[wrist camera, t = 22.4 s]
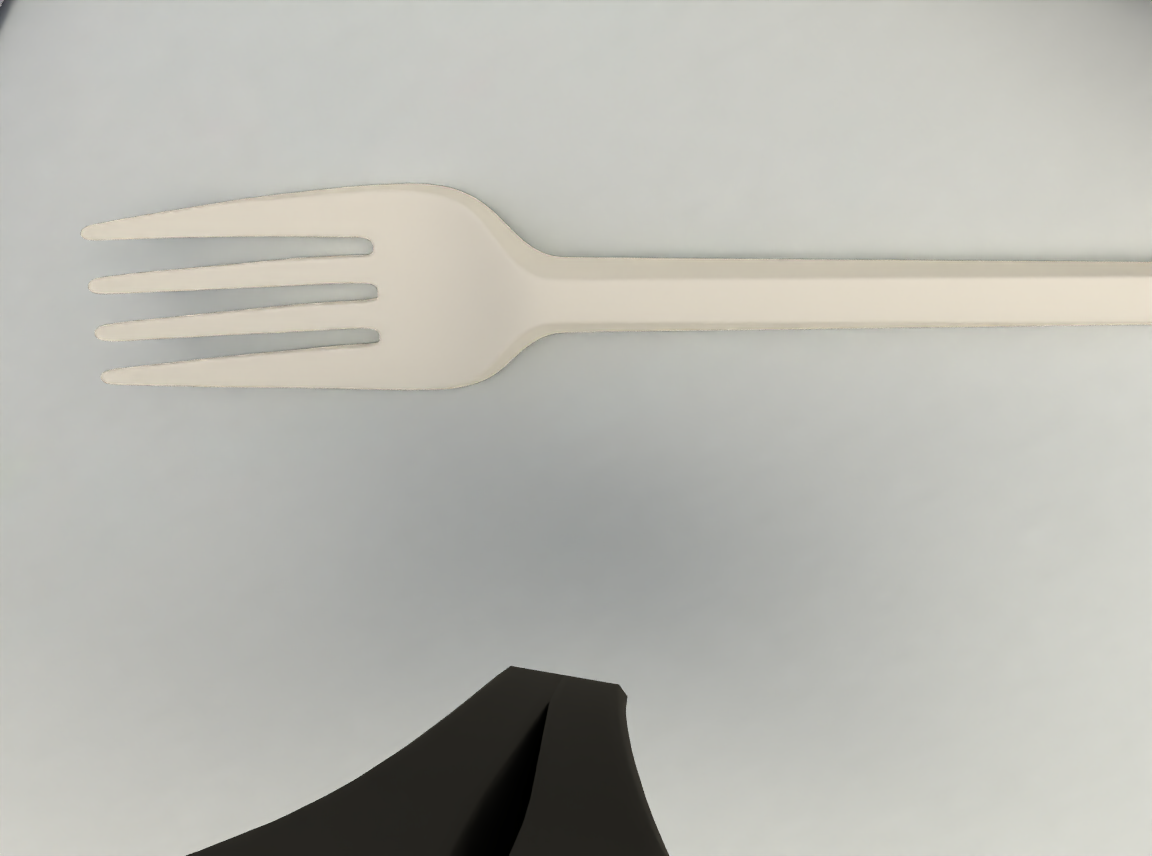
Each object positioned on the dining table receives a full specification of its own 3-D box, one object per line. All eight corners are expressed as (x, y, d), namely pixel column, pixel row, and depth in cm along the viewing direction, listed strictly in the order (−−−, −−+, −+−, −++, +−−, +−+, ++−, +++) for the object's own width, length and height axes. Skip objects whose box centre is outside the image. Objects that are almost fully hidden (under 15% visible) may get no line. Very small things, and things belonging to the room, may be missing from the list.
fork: (1501, 404, 15) (1599, 442, 13) (167, 385, 18) (103, 413, 17) (1550, 164, 14) (1662, 169, 13) (142, 188, 18) (72, 195, 16)
